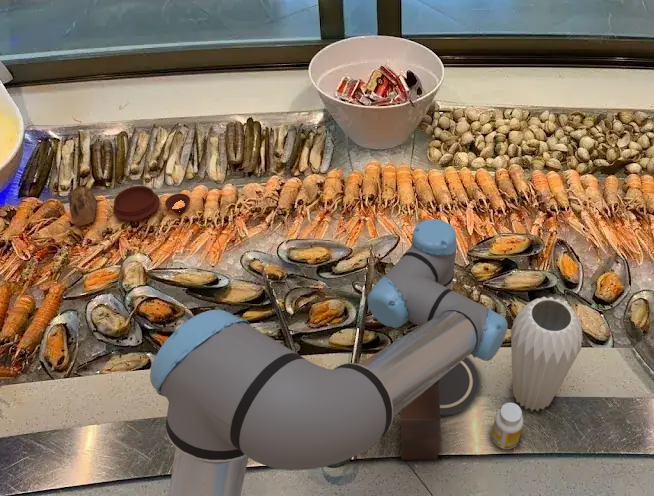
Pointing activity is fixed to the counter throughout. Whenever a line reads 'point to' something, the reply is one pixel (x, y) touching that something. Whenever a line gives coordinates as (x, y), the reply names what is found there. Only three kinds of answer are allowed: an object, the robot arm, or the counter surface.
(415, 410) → the stand
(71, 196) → the decorative rock
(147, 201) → the pottery
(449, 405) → the round coaster
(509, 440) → the supplement bottle
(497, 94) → the counter surface
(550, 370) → the vase
